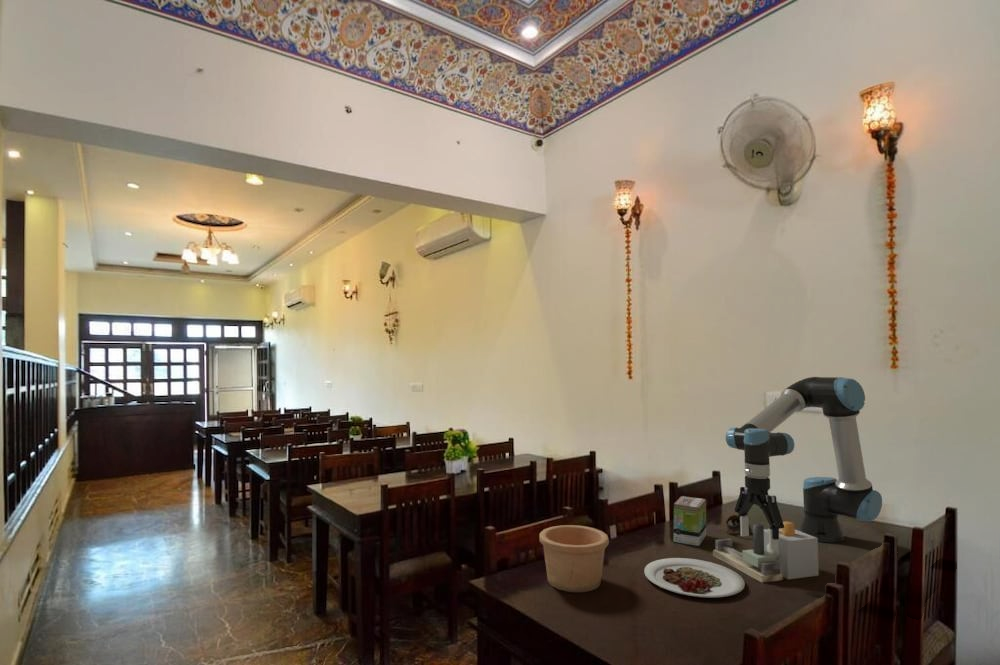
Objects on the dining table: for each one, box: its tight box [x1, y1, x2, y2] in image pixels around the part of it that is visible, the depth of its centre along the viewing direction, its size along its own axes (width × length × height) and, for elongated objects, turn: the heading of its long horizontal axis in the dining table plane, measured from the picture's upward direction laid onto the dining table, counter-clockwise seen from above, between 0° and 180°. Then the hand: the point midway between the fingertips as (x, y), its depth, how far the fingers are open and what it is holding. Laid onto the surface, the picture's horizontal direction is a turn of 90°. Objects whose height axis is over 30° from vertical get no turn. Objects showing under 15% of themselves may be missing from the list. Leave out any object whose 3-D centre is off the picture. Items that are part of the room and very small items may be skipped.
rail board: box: [712, 537, 784, 584], centre depth 182 cm, size 8×24×6 cm, turn 15°
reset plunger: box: [781, 520, 796, 537], centre depth 179 cm, size 4×4×8 cm
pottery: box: [538, 524, 610, 594], centre depth 170 cm, size 22×22×14 cm
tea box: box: [673, 495, 707, 547], centre depth 211 cm, size 15×10×15 cm
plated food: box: [643, 557, 746, 598], centre depth 171 cm, size 30×30×3 cm
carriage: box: [741, 523, 776, 567], centre depth 176 cm, size 7×7×12 cm
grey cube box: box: [764, 528, 820, 580], centre depth 179 cm, size 12×12×12 cm
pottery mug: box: [725, 514, 753, 536], centre depth 218 cm, size 12×10×8 cm
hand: (758, 542), depth 176 cm, fingers open, 12 cm apart
